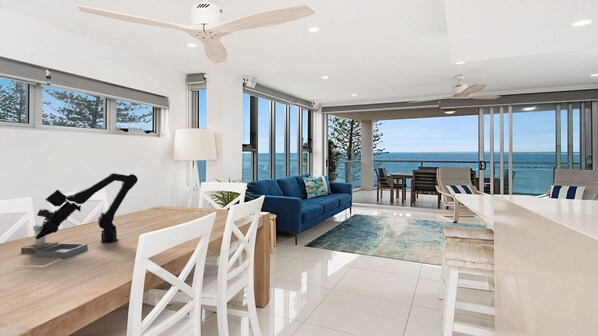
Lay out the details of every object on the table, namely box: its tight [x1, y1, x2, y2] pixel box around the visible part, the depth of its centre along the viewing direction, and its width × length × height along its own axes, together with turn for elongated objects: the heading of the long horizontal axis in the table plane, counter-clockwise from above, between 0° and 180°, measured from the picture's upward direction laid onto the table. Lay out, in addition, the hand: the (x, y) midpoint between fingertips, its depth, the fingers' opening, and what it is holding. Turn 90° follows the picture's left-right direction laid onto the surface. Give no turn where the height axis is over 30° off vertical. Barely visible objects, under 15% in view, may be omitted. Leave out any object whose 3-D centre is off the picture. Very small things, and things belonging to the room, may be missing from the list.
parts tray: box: [35, 242, 88, 260], centre depth 151 cm, size 14×14×3 cm
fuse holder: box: [20, 241, 60, 254], centre depth 155 cm, size 10×10×3 cm
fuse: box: [32, 223, 47, 247], centre depth 155 cm, size 5×5×12 cm
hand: (36, 237), depth 154 cm, fingers closed on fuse, 4 cm apart
